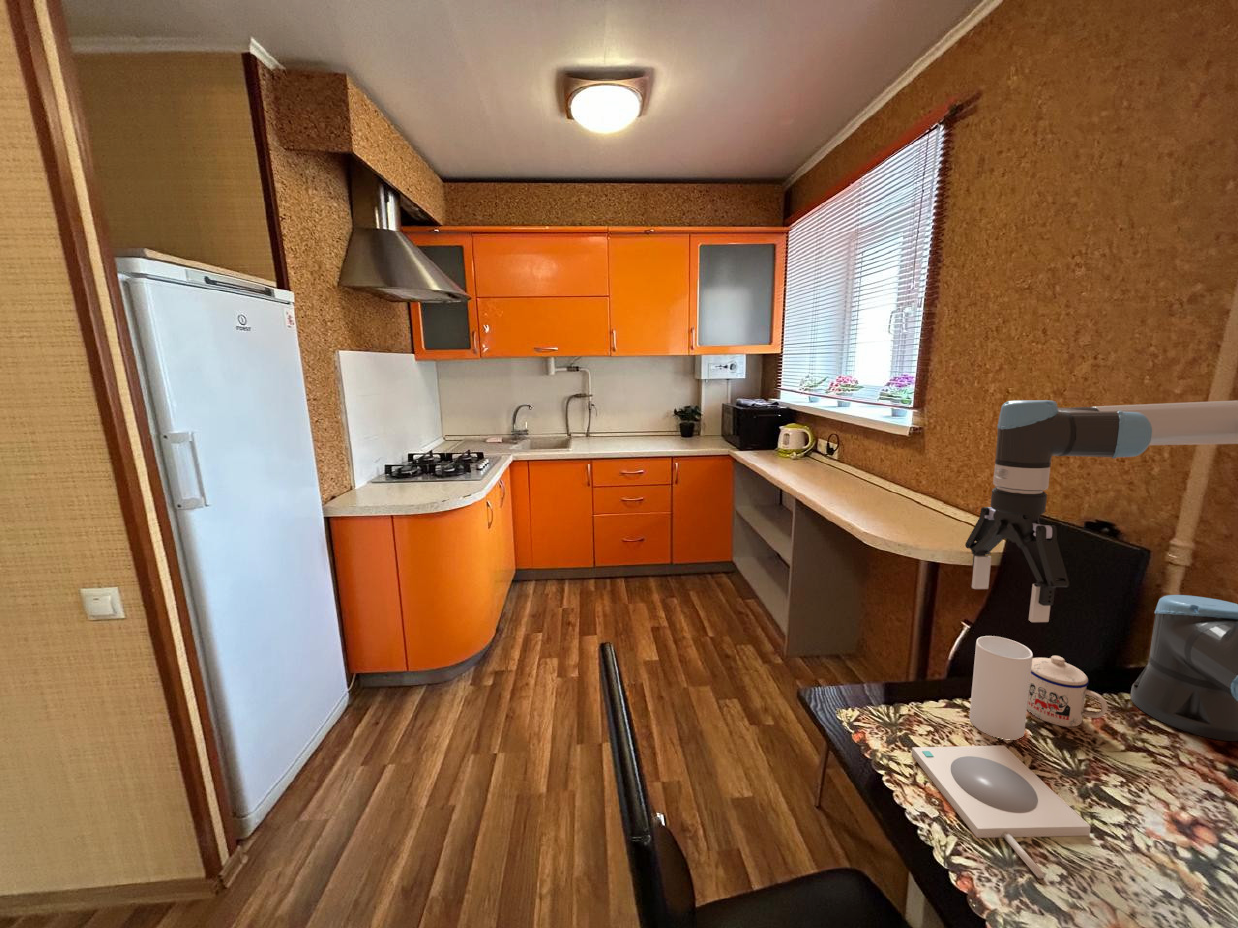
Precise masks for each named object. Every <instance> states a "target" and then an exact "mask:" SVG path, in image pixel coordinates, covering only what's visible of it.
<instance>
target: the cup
mask: <svg viewBox="0 0 1238 928" xmlns="http://www.w3.org/2000/svg"><path fill="white" fill-rule="evenodd" d="M974 651H975V652H974V653H975V654H974V664H973V675H972V686H971V696H970V706H969V707H970V709H969V717H968V718H969V720H970V723H971V724H972V725H973V726H974V728H976V729H977V730H979V731H980V732H982V733H984V734H985V733H986V734H985V735H988V736H990V737H992V736H993V737H992V738H995V737H999V738H1003V739H1010V740H1016V739H1019V738H1021V737H1023V736H1025V730H1026V722H1027V712H1028V710H1027V704H1028V695H1029V686H1030V676H1031V667H1032V658H1034V655H1033V652H1032V650H1031V649H1030V648H1029V647H1028V646H1026V645H1024V644H1023V643H1020V642H1018V641H1015V640H1012V639H1009V638H1006V637H1003V636H1002V637H1001V636H997V635H996V636H995V635H993V636H992V635H985V636H980V637H978V638H977V639H976V642H975V650H974ZM1023 738H1024V737H1023Z"/></svg>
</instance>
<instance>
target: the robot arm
mask: <svg viewBox="0 0 1238 928" xmlns="http://www.w3.org/2000/svg"><path fill="white" fill-rule="evenodd" d="M996 429H997V435H996V446H995V447H996V448H995V460H994V470H993V471H994V472H993V478H992V480H993V481H992V484H993V485H994V486H995V487H994V488H992V489H991V495H990V497H991V498H990V506H986V507H984V506H982V507H981V508H980V513H979V518H978V519H977V521H976V524H975V525H974V527H973V529H972V530H971V533H970V535H969V536H968V538H967V540H966V542H965V543H964V544H965V545H964V546H965V547H966V548H967V549H969V550H971V554H972V555H973V556H972V577H971V578H972V581H971V589H974V590H988V589H989V585H990V576H991V575H990V574H991V566H992V565H991V564H992V556H991V555H992V553H991V552H992V550H994V549H995V548H996V546H998V545H999V544H1000V543H1001V542H1002V541H1003V540H1009V541H1010V542H1011V543H1014V544H1016V546H1017V547H1018V548H1019V549H1021V550H1022V552H1023V555H1024V557H1025V559H1026V562H1027V564H1028V565H1029V567H1030V568H1029V569H1030V570H1031V573H1032V575H1033V576H1034V578H1035V580H1036V582H1035V583H1032V585H1031V586H1032V587H1031V596H1030V605H1029V614H1028V621H1030V622H1031V623H1049V620H1050V612H1051V606H1053V605H1054V601H1055V593H1056V588H1068V587H1069V586H1070V582H1069V577H1068V574H1067V572H1066V571H1067V570H1066V567H1065V564H1064V563H1065V562H1064V561H1063V557H1062V554H1061V551H1060V550H1061V549H1060V547H1059V543H1058V540H1057V536H1058V535H1057V534H1058V531H1057V526H1056V525H1054V524H1053V525H1051V524H1050V525H1045V524H1041V523H1040V519H1039V518H1040V516H1041V515H1043V514H1045V512H1046V507H1047V499H1048V494H1047V493H1046V492H1045V491H1046V490H1048V489H1049V484H1050V474H1051V466H1052V459H1053V457H1089V458H1090V457H1092V458H1093V457H1094V458H1111V459H1116V458H1133V457H1138V456H1140V455H1142V454H1143V453H1144V452H1145V451H1147V449H1148V447H1149V446H1182V445H1183V446H1184V445H1185V446H1187V445H1238V399H1237V400H1219V401H1218V400H1216V401H1195V402H1194V401H1193V402H1192V401H1191V402H1190V401H1189V402H1188V401H1187V402H1171V403H1170V402H1167V403H1147V404H1145V403H1144V404H1143V403H1142V404H1121V405H1120V404H1119V405H1118V404H1117V405H1101V406H1100V405H1099V406H1098V405H1096V406H1095V405H1094V406H1075V407H1072V406H1071V407H1059V406H1058V404H1057V402H1056V401H1055V400H1050V399H1049V400H1048V399H1045V400H1044V399H1043V400H1041V399H1040V400H1039V399H1038V400H1037V399H1036V400H1032V399H1030V400H1027V399H1026V400H1025V399H1021V400H1020V399H1018V400H1017V399H1014V400H1008V401H1006V402H1004V403H1003V404H1002V405H1001V408H1000V412H999V416H998V423H997V427H996ZM1154 614H1155V615H1154V622H1153V627H1152V628H1153V629H1152V636H1151V642H1150V643H1151V644H1150V651H1149V656H1148V657H1149V658H1148V662H1147V663H1148V664H1147V665H1146V667H1144V669H1143V671H1142V672H1141V673H1139V676H1138V677H1137V679H1136V680H1135V681H1134V683H1132V685H1131V690H1130V700H1131V702H1132V703H1133V704H1134V705H1135V706H1136V707H1137V708H1138V709H1140V710H1141V711H1142V712H1143V713H1145V714H1147V715H1148V716H1150V717H1152V718H1153V719H1156V721H1159V722H1161V723H1164V724H1165V725H1168V726H1170V727H1173V728H1174V729H1178V730H1181V731H1184V732H1187V733H1189V734H1193V735H1195V736H1199V737H1204V738H1209V739H1213V740H1220V741H1224V742H1225V741H1228V742H1238V604H1237V603H1235V602H1230V601H1227V600H1222V599H1216V598H1211V597H1203V596H1197V595H1186V594H1167V595H1163V596H1162V597H1160V598H1159V599H1158V602H1157V604H1156V607H1155V610H1154Z"/></svg>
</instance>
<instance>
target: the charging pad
mask: <svg viewBox="0 0 1238 928" xmlns="http://www.w3.org/2000/svg"><path fill="white" fill-rule="evenodd" d="M911 756H912V757H913V759H914V761H916V763H918V764H917V765H919V766H920V768H921V769H922V770H923V772H924V773H925V774H926V775H927V776H928V778H929V780H931V782H932V783H933V785H934V786H935V787H936V788H937V789H938V791H939V792H940V793H941V794H942V796H943V797H944V799H946V800H947V802H948V803H949V805H950V806H951V807H952V808H953V810H954V811H955V812H956V813H957V814H958V816H959V817H960V819H961V820H962V821H963V822H964V824H966V826H967V827H968V828H969V830H970V831H971V833H973V835H974V836H975V838H977V839H978V838H979V839H984V838H985V839H987V838H1004V840H1005V841H1006V842H1007V843H1008V845H1010V847H1011V848H1012V849H1013V850H1014V852H1015V853H1016V854H1017V856H1019V857H1020V859H1021V860H1022V861H1023V862H1024V863H1025V865H1026V866H1027V867H1028V868H1029V870H1030V871H1031V872H1032V873H1033V874H1034V875H1035V877H1037V879H1039V880H1042V879H1044V878H1045V876H1046V874H1045V873H1044V872H1043V870H1042V869H1041V868H1040V867H1039V866H1038V865H1037V863H1036V862H1035V861H1034V860H1033V859H1032V858H1031V856H1029V855H1028V853H1027V852H1026V851H1025V850H1024V848H1023V847H1021V845H1020V844H1019V843H1018V841H1017V840H1016V839H1015V838H1030V837H1031V838H1032V837H1036V838H1037V837H1044V838H1045V837H1086V836H1090V834H1091V825H1090V824H1089V823H1088V822H1087V821H1085V819H1084V818H1082V817H1081V816H1080V815H1079V814H1078V813H1077V812H1076V811H1075V810H1074V809H1073V808H1072V807H1071V806H1069V805H1068V803H1067V802H1065V801H1064V800H1063V798H1061V797H1060V796H1059V795H1058V794H1057V793H1056V792H1055V791H1054V790H1052V789H1051V788H1050V786H1048V785H1047V784H1046V783H1045V782H1044V781H1042V779H1041V778H1040V777H1039V776H1037V774H1035V773H1034V772H1033V771H1032V770H1031V769H1030V768H1029V767H1028V766H1026V764H1024V762H1023V761H1021V759H1019V758H1018V757H1017V756H1016V755H1015V754H1014V753H1013V752H1012V751H1011V750H1010V749H1008V747H1006V746H1005V745H966V746H965V745H963V746H962V745H961V746H922V747H921V746H918V747H917V746H916V747H913V746H912V747H911Z"/></svg>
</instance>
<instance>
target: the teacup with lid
mask: <svg viewBox="0 0 1238 928" xmlns="http://www.w3.org/2000/svg"><path fill="white" fill-rule="evenodd" d="M1089 683H1090V681H1089V678H1088V676H1087V675H1086V674H1085V673H1084V671H1082V670H1081V669H1079V668H1078V667H1076V666H1074V665H1072V664H1070V663H1067V662H1066V660H1065V658H1063V657H1061V656H1060V655H1052V656H1050V657H1049V658H1048V657H1033V658H1032V667H1031V676H1030V686H1029V695H1028V704H1027V712H1029V713H1030V712H1031V713H1032V714H1031V713H1030V714H1031V715H1033V716H1034V715H1035V716H1034V717H1036V718H1038V719H1039V718H1040V720H1041V719H1042V721H1044V722H1047V723H1048V724H1049V723H1050V724H1052V725H1055V726H1056V725H1057V726H1061V727H1065V728H1067V727H1068V728H1071V727H1077V726H1079V725H1081V724H1082V722H1083V716H1085V717H1088V718H1090V719H1092V718H1093V719H1097V718H1100V717H1101V718H1102V717H1103V716H1104V715H1105V714H1106V713H1107V711H1108V706H1109V705H1108V702H1107V700H1106V699H1105V698H1104V697H1103V696H1101V694H1099V693H1098V692H1095V691H1093V690H1090V689H1087V686H1088V685H1089ZM1086 695H1087V696H1090V697H1092V698H1094V699H1096V700H1097V701H1098V703H1100V706H1101V708H1100V710H1099V711H1097V712H1092V711H1088V710H1086V709H1085V701H1086ZM1084 709H1085V710H1084Z"/></svg>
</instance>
